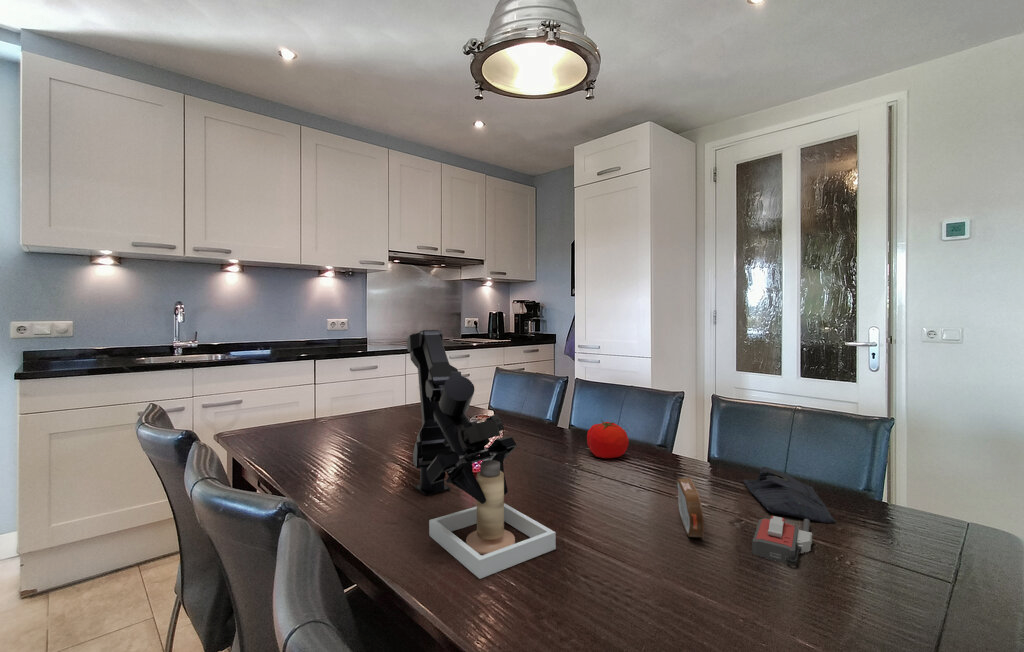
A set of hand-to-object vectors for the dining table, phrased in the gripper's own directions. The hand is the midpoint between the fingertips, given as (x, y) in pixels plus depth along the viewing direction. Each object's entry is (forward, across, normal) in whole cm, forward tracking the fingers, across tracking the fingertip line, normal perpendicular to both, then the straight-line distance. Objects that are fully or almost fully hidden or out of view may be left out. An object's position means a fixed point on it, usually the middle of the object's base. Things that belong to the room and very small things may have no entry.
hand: (495, 498), depth 85 cm
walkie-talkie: (+33, +38, -20) cm, 54 cm away
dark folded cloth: (+30, +59, -17) cm, 68 cm away
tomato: (-4, +59, +16) cm, 61 cm away
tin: (+22, +31, -10) cm, 40 cm away
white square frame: (+5, 0, +7) cm, 9 cm away
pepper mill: (+4, 0, +6) cm, 7 cm away
